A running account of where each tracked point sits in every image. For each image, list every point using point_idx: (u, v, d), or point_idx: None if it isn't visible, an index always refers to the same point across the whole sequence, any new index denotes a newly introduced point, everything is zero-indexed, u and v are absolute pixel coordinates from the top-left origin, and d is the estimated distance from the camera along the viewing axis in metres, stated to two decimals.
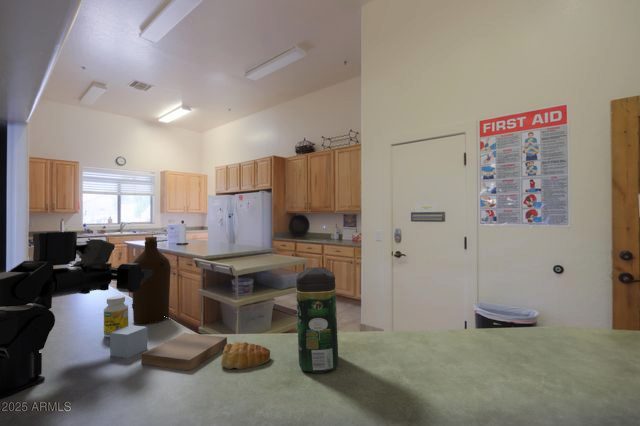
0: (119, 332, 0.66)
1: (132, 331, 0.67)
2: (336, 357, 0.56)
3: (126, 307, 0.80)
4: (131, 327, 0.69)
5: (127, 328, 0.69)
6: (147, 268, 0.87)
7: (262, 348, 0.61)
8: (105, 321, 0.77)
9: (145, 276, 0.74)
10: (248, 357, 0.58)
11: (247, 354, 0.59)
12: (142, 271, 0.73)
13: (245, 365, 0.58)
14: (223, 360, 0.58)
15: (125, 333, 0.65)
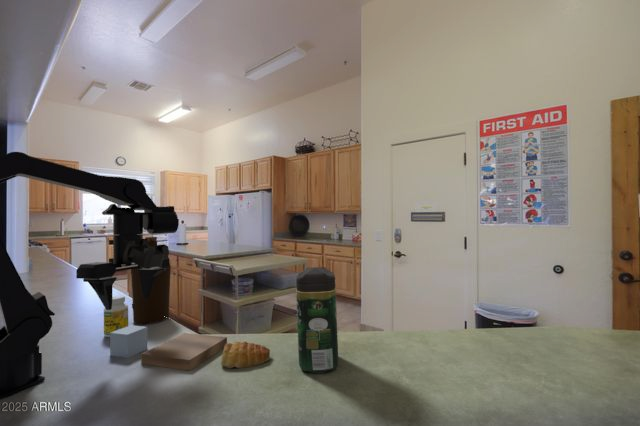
0: (119, 332, 0.66)
1: (132, 331, 0.67)
2: (336, 357, 0.56)
3: (126, 307, 0.80)
4: (131, 327, 0.69)
5: (127, 328, 0.69)
6: None
7: (261, 347, 0.62)
8: (105, 321, 0.77)
9: (101, 297, 0.63)
10: (248, 356, 0.59)
11: (247, 353, 0.59)
12: (105, 292, 0.62)
13: (245, 364, 0.58)
14: (223, 359, 0.58)
15: (125, 333, 0.65)
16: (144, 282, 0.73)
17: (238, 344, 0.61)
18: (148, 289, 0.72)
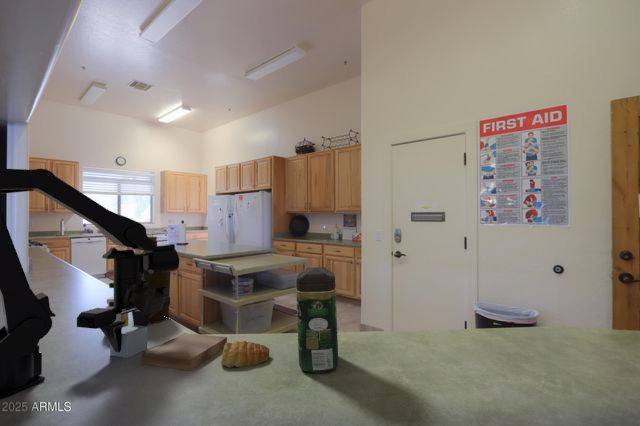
0: None
1: (132, 331, 0.67)
2: (336, 357, 0.56)
3: None
4: (131, 327, 0.69)
5: (127, 328, 0.69)
6: None
7: (261, 346, 0.62)
8: None
9: (111, 340, 0.64)
10: (248, 355, 0.59)
11: (247, 352, 0.60)
12: (114, 335, 0.64)
13: (245, 363, 0.59)
14: (223, 359, 0.59)
15: (125, 333, 0.65)
16: (137, 325, 0.71)
17: (238, 343, 0.62)
18: None
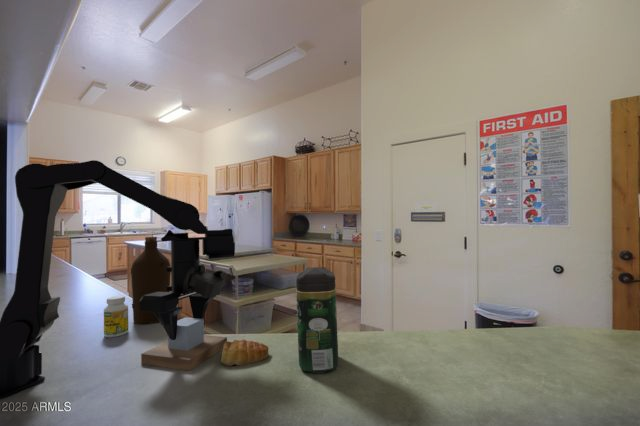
0: (177, 323, 0.64)
1: (190, 323, 0.64)
2: (336, 357, 0.56)
3: (126, 307, 0.80)
4: (187, 319, 0.67)
5: (183, 320, 0.66)
6: (147, 268, 0.87)
7: (260, 344, 0.63)
8: (105, 321, 0.77)
9: (166, 327, 0.61)
10: (248, 353, 0.60)
11: (247, 350, 0.61)
12: (171, 322, 0.61)
13: (245, 361, 0.60)
14: (223, 357, 0.59)
15: (184, 325, 0.63)
16: (195, 310, 0.70)
17: (237, 342, 0.63)
18: (200, 317, 0.69)
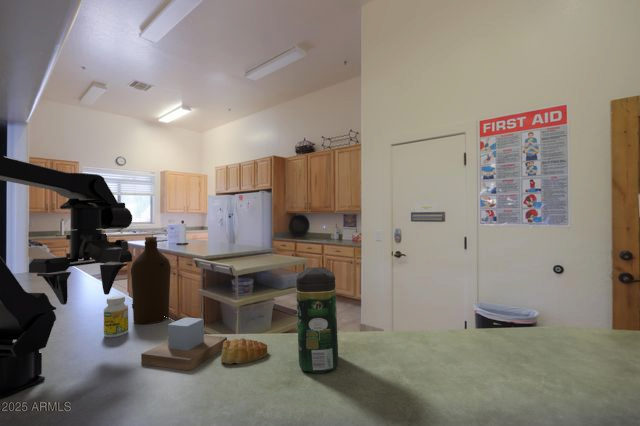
0: (177, 323, 0.64)
1: (190, 323, 0.64)
2: (336, 357, 0.56)
3: (126, 307, 0.80)
4: (187, 319, 0.67)
5: (183, 320, 0.66)
6: (147, 268, 0.87)
7: (259, 343, 0.64)
8: (105, 321, 0.77)
9: (56, 292, 0.63)
10: (248, 351, 0.61)
11: (247, 349, 0.61)
12: (59, 286, 0.62)
13: (245, 360, 0.60)
14: (223, 356, 0.60)
15: (184, 325, 0.63)
16: (105, 278, 0.73)
17: (237, 341, 0.63)
18: (109, 284, 0.72)
